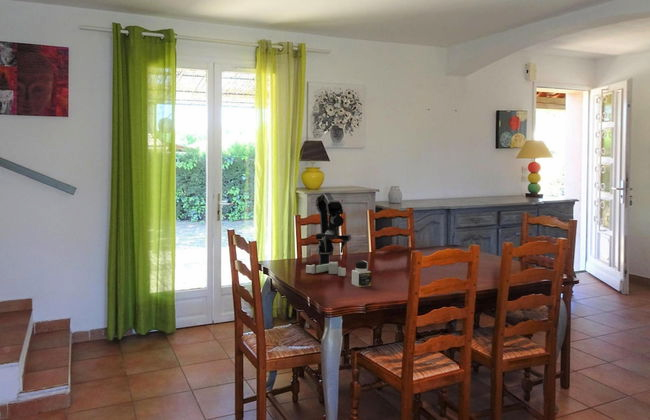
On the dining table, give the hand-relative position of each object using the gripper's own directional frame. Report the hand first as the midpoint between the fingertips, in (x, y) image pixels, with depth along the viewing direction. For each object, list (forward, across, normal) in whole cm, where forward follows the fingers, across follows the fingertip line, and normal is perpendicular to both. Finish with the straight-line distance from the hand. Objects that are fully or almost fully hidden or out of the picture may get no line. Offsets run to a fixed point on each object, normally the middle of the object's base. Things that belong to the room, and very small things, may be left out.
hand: (333, 252), depth 293 cm
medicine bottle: (+11, +22, -23) cm, 34 cm away
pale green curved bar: (+11, -4, -1) cm, 12 cm away
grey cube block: (+11, 0, -1) cm, 11 cm away
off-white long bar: (+11, -2, -6) cm, 13 cm away
